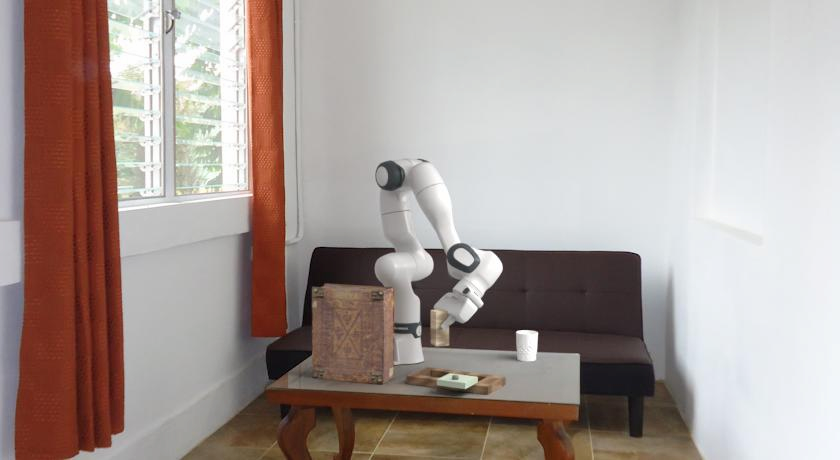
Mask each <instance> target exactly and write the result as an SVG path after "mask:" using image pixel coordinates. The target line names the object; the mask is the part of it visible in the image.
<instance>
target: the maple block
mask: <svg viewBox="0 0 840 460" xmlns="http://www.w3.org/2000/svg"><path fill="white" fill-rule="evenodd" d="M447 312H448V311H446V310H443V309H439V310H434V309H430V345H432V346H434V347H437V348H438V347H446V346H447V347H448V346H450V325H449V326H448V327H447V328H446V329H445V330H443V329H442V328H441V327H440V324H441V323H442V322H444V321H445V320H447V319H448V317H449V315H448V314H447Z"/></svg>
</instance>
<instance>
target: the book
mask: <svg viewBox="0 0 840 460" xmlns="http://www.w3.org/2000/svg"><path fill="white" fill-rule="evenodd" d="M311 354H312V355H311V356H312V357H311V359H312V360H311V361H312V362H311V363H312V364H311V365H312V366H311V374H312V375H311V376H312V379H318V380H329V381H340V382H350V383H351V382H352V383H363V384H372V385H375V384H376V385H384V384H386V383H388V382H389V381H391V380H392V379H394V378H395V370H394V369H395V365H394V288H393V287H384V286H378V285H377V286H376V285H359V284H339V283H324V284H323V286H320V287H319V286H312V287H311Z"/></svg>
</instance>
